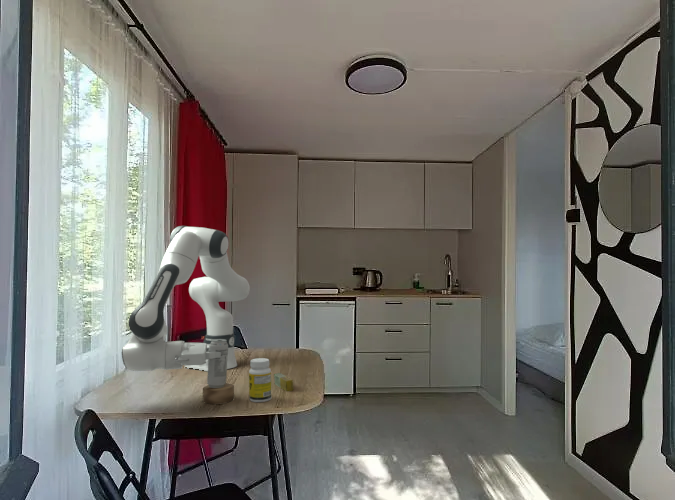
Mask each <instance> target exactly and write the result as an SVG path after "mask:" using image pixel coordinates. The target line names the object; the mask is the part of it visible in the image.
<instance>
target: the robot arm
mask: <svg viewBox="0 0 675 500" xmlns="http://www.w3.org/2000/svg"><path fill="white" fill-rule="evenodd" d="M229 242H230V241H229V237H228V236H227V234H226V233H225V232H223V231H221V230H219V229H213V228H207V227H201V226H200V227H199V226H187V225H179V226H176V227H175V228H174V229H173V230H172V232H171V233H170V237H169V244H168V247H167V248H166V250H165V253H164V255H163V257H162V260H161V262H160V265H159V270H158V272H157V274H156V276H155V278H154V280H153V282H152V284H151V285H150V288H149V290H148V292H147V294H146V295H145V298H144V299H143V301H142V302H141V303H139V305H138V306H137V307H135V309H134V310H133V311H132V312H131V313H130V315H129V318H128V327H129V330H130V332H131V333H132V335H131V336H130V338H129V339H128V341H127V342H126V343H125V345H123V346H122V348H121V359H122V364H123V365H124V367H125V368H126V369H127V370H128V371H132V372H151V371H156V370H163V371H164V370H165V371H169V370H182V369H183V368H185V367H187V368H186V369H189V368H193V369H192V370H195V369H199V370H198V371H202V370H204V371H203V372H208V360H209V359H212V358H219V357H221V352H220V351H219V352H209V345H210V343H211V342H212V340H213V339H225V340H227V341H226V342H227V344H228V358H227V370H228V369H233V368H236V367H238V363H237V362H238V361H237V357H236V353H235V333H234V316H233V315H232V313H231V312H230V311H228V310H226V309H223V308H222V307H221V306H220V304H219V302H223V303H224V302H238V301H242V300H243V301H244V300H245V299H247V298H248V296H249V294H250V289H251V286H250V284H249V280H248V279H246V277H243V276H242V275H240V274H238V273H237V272H236V271H235V270H234V269H233V268H232V267H231V264H230V261H229V255H228V249H229V246H230V245H229ZM198 260H200V266H201V270H202V272H203V274H204V275H205V276H202V277H197V278H193V279H192V280H191V282H190V283H189V287H188V293H189V297H190V298H191V300H193V301H194V302H196V303H197V304H198V305H199V307H200V308H201V309H202V310H203V313H204V315H205V321H206V334H205V335H204V336H202V335H201V340H203V342H185V340H175V341H174V340H173V341H172V340H171V341H166V338H167V333H168V325H167V323H166V321H165V318H164V317H165V316H164V315H165V313H164V311H165V307H166V304H167V301H168V300H169V298H170V296H171V294H172V291H173V289H174V288H175V286H177V285H183V284H185V283H187V282H188V281H189V279H190V277H191V276H192V274H193V272H194V270H195V268H196V265H197V262H198ZM183 366H184V367H183Z"/></svg>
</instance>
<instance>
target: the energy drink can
mask: <svg viewBox="0 0 675 500" xmlns="http://www.w3.org/2000/svg"><path fill="white" fill-rule="evenodd" d="M226 341H227V340H225V339H213V340H212V342H211V343H210V345H209V352H219V351H220V352H221V357H219V358H212V359H209V360H208V371H207V378H206V379H207V380H206V381H207V382H206V384H207V385H209V387H210V388H222V387H224V385H225V384H226V383H227V377H228V376H227V374H228V372H227V371H228V369H227V358H228V344H227V342H226Z"/></svg>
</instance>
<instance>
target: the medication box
mask: <svg viewBox="0 0 675 500" xmlns="http://www.w3.org/2000/svg"><path fill="white" fill-rule="evenodd" d="M273 377H274V378H273V379H274V385H275V386H277V387H278V388H280V389H281V390H284V391H285V392H291V391H292V392H293V391H294V380H293V379H291V377H288V376H286V375H285V374H282V373H281V372H277V373H274V374H273Z"/></svg>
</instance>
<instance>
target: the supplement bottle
mask: <svg viewBox="0 0 675 500" xmlns="http://www.w3.org/2000/svg"><path fill="white" fill-rule="evenodd" d="M249 363H250V369H249V371H248V389H249V392H248V396H249V397H248V399H249V400H250V401H251V402H253V403H264V402H269V401H271V399H272V398H273V397H272V369H271V368H270V359H269V358H264V357H261V358H259V357H258V358H253V359H251V360H250V362H249Z"/></svg>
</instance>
